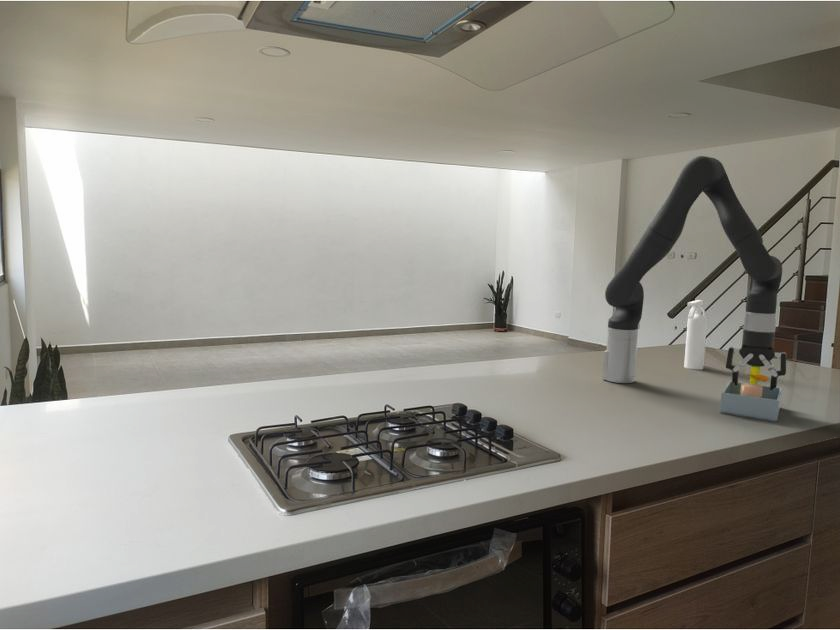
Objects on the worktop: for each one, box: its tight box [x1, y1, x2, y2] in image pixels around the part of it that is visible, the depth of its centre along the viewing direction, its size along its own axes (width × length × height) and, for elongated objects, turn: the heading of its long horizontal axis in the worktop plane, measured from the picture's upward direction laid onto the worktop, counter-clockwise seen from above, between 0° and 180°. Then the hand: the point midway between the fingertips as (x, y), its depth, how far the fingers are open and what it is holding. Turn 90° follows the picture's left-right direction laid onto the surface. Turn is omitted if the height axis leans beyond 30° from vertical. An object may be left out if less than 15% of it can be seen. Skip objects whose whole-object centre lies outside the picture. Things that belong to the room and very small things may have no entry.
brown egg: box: [740, 382, 763, 398], centre depth 155 cm, size 5×5×7 cm
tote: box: [719, 380, 783, 423], centre depth 158 cm, size 13×17×6 cm
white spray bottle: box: [683, 299, 708, 370], centre depth 213 cm, size 7×12×25 cm, turn 125°
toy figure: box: [747, 365, 770, 385], centre depth 161 cm, size 7×4×12 cm, turn 19°
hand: (753, 387), depth 161 cm, fingers open, 8 cm apart
